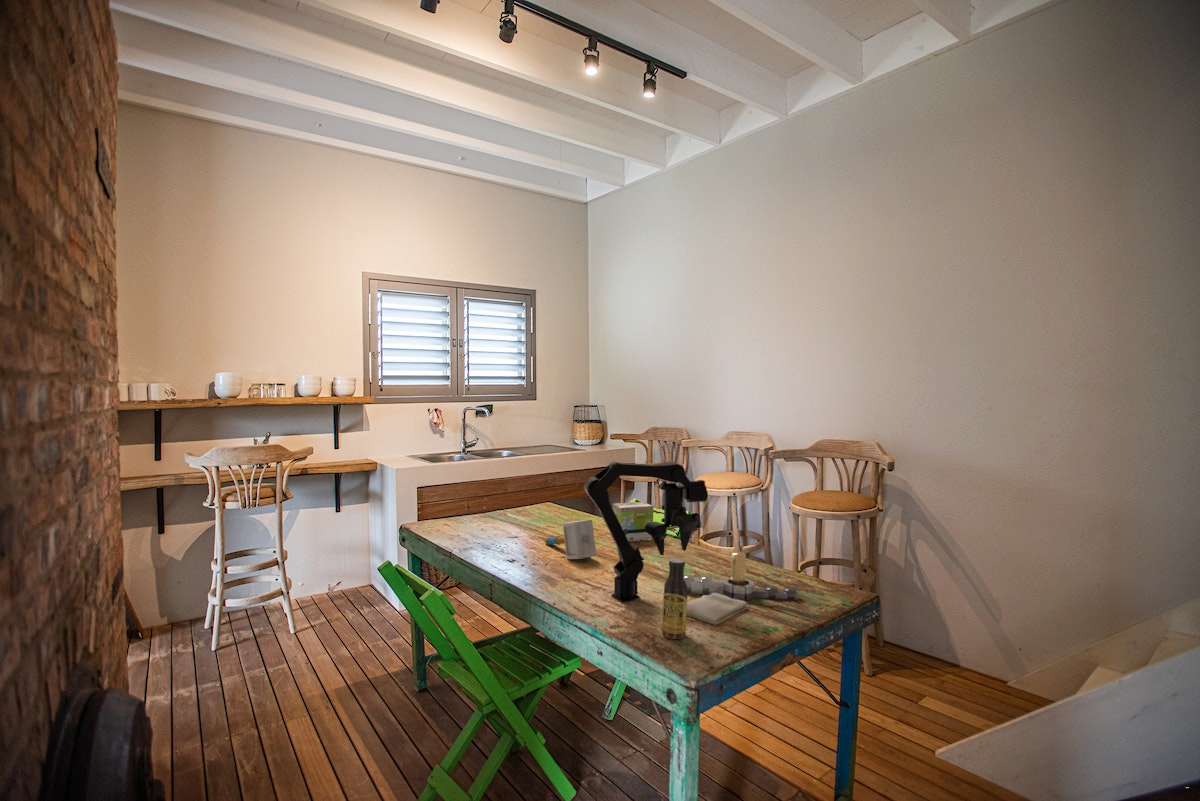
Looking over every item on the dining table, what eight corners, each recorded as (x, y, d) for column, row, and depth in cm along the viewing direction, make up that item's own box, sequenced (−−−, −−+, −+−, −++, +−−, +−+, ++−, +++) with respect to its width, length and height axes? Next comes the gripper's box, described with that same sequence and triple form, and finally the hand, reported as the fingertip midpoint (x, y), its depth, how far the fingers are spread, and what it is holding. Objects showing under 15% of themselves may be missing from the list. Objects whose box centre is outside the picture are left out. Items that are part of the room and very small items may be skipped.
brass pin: (738, 598, 179) (739, 556, 179) (727, 594, 183) (728, 552, 183) (748, 595, 182) (748, 554, 181) (737, 591, 185) (738, 550, 185)
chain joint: (681, 596, 181) (681, 580, 181) (682, 586, 190) (682, 571, 190) (799, 604, 175) (799, 588, 174) (794, 593, 184) (794, 578, 184)
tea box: (620, 543, 241) (620, 507, 240) (611, 537, 250) (611, 503, 250) (653, 540, 246) (653, 505, 246) (643, 534, 256) (643, 500, 255)
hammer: (540, 559, 236) (579, 559, 212) (536, 525, 239) (574, 521, 214) (558, 556, 241) (598, 555, 217) (554, 523, 243) (593, 519, 219)
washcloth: (749, 609, 172) (749, 599, 172) (716, 628, 159) (716, 616, 158) (714, 599, 180) (714, 589, 180) (680, 616, 167) (680, 605, 167)
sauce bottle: (659, 638, 151) (659, 562, 150) (665, 629, 157) (665, 555, 156) (684, 642, 148) (684, 564, 148) (689, 632, 154) (690, 558, 154)
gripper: (668, 511, 170) (667, 564, 170) (713, 504, 181) (713, 554, 181) (643, 504, 179) (643, 555, 180) (688, 498, 190) (688, 545, 190)
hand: (673, 552), depth 182 cm, fingers open, 9 cm apart
